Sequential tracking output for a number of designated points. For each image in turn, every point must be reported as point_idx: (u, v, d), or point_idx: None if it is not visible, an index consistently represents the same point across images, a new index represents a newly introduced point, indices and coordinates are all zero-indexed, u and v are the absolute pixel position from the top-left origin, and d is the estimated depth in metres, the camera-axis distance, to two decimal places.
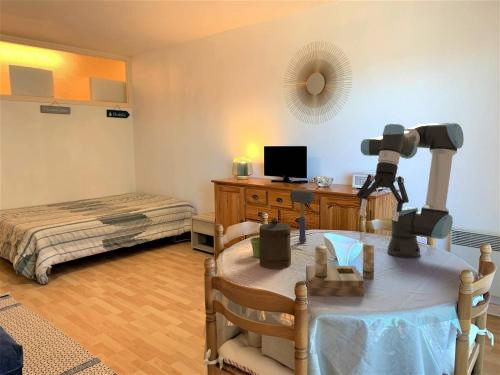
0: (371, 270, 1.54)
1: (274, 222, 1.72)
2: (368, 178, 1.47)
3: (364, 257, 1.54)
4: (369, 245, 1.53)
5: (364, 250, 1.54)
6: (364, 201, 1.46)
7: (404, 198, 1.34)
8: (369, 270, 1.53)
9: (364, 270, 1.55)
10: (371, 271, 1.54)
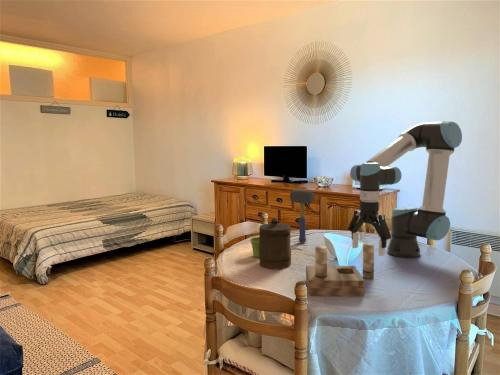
0: (371, 270, 1.54)
1: (274, 222, 1.72)
2: (355, 214, 1.57)
3: (364, 257, 1.54)
4: (369, 245, 1.53)
5: (364, 250, 1.54)
6: (355, 235, 1.59)
7: (386, 236, 1.45)
8: (369, 270, 1.53)
9: (364, 270, 1.55)
10: (371, 271, 1.54)
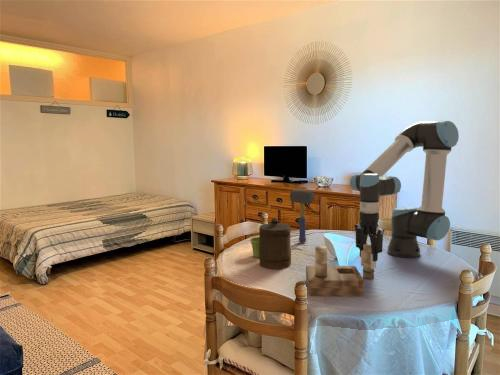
0: (371, 270, 1.54)
1: (274, 222, 1.72)
2: (356, 228, 1.58)
3: (364, 257, 1.54)
4: (369, 245, 1.53)
5: (364, 250, 1.54)
6: None
7: (377, 250, 1.49)
8: (369, 270, 1.53)
9: (364, 270, 1.55)
10: (371, 271, 1.54)
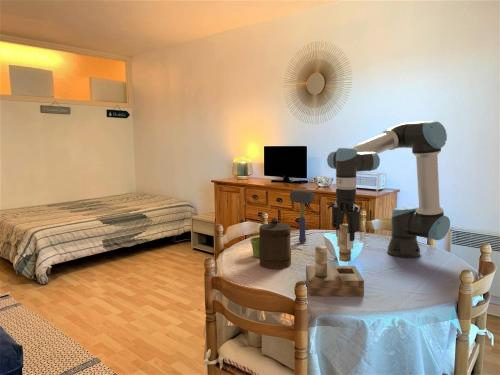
0: (348, 252, 1.44)
1: (274, 222, 1.72)
2: (332, 206, 1.48)
3: (340, 238, 1.45)
4: (346, 225, 1.44)
5: (340, 230, 1.44)
6: None
7: (354, 229, 1.40)
8: (345, 252, 1.44)
9: (340, 252, 1.45)
10: (348, 253, 1.44)
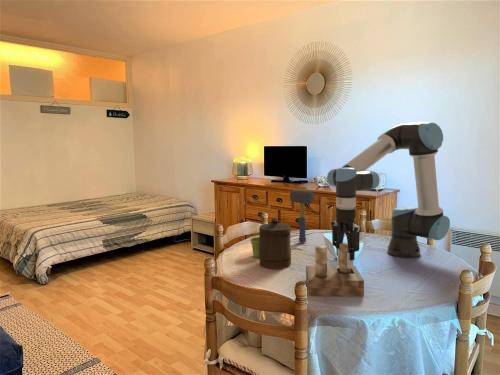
0: (348, 271, 1.45)
1: (274, 222, 1.72)
2: (332, 225, 1.49)
3: (340, 257, 1.46)
4: (346, 244, 1.45)
5: (340, 250, 1.45)
6: None
7: (354, 249, 1.41)
8: (346, 271, 1.45)
9: (340, 271, 1.46)
10: (348, 272, 1.45)
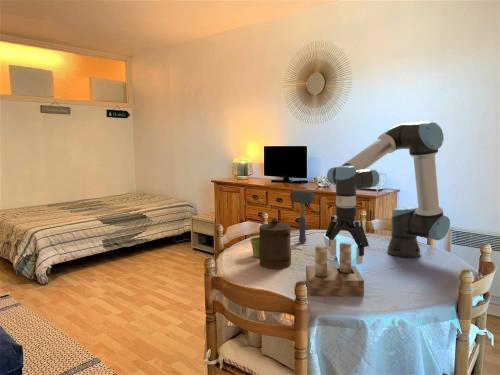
0: (348, 271, 1.45)
1: (274, 222, 1.72)
2: (332, 220, 1.49)
3: (340, 257, 1.46)
4: (346, 244, 1.45)
5: (340, 249, 1.45)
6: (332, 242, 1.51)
7: (363, 244, 1.37)
8: (346, 271, 1.45)
9: (340, 271, 1.46)
10: (348, 272, 1.45)
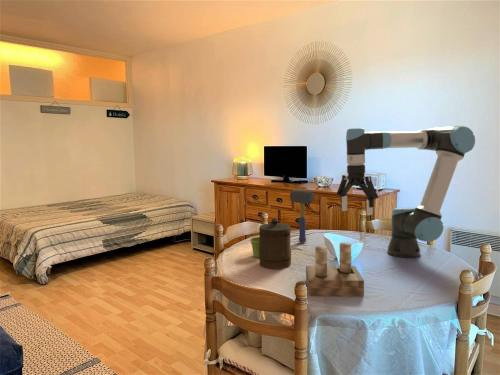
0: (348, 271, 1.45)
1: (274, 222, 1.72)
2: (343, 178, 1.66)
3: (340, 257, 1.46)
4: (346, 244, 1.45)
5: (340, 249, 1.45)
6: (344, 198, 1.68)
7: (373, 196, 1.54)
8: (346, 271, 1.45)
9: (341, 271, 1.46)
10: (348, 272, 1.45)
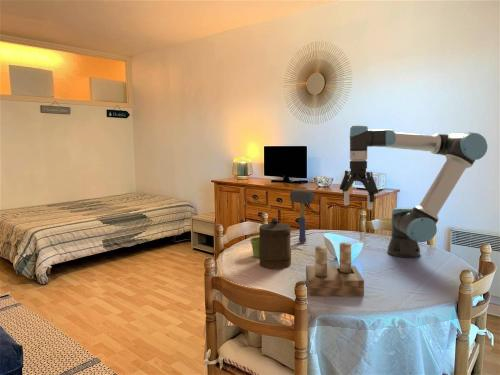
0: (348, 271, 1.45)
1: (274, 222, 1.72)
2: (345, 174, 1.72)
3: (340, 257, 1.46)
4: (346, 244, 1.45)
5: (340, 249, 1.45)
6: (346, 193, 1.74)
7: (373, 191, 1.60)
8: (346, 271, 1.45)
9: (340, 271, 1.46)
10: (348, 272, 1.45)
